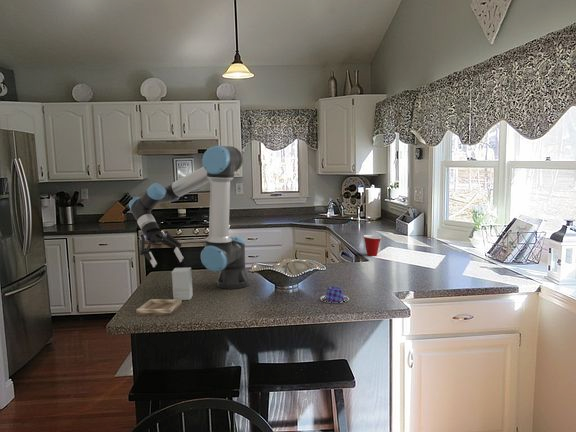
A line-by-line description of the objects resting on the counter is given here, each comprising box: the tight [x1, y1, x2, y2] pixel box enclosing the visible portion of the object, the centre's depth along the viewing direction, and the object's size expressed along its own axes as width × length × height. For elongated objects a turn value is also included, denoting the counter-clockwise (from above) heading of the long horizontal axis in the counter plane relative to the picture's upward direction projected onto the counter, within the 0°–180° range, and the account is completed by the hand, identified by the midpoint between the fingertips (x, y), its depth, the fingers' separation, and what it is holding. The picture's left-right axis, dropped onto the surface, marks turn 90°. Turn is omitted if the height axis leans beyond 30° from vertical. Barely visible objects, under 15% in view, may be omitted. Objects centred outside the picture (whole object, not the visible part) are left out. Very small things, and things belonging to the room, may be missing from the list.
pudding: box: [319, 286, 350, 304], centre depth 196 cm, size 12×12×5 cm
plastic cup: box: [363, 234, 382, 257], centre depth 283 cm, size 11×11×12 cm
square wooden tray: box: [135, 298, 184, 316], centre depth 187 cm, size 14×14×2 cm
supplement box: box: [171, 267, 194, 301], centre depth 202 cm, size 7×7×13 cm
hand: (168, 262), depth 207 cm, fingers open, 13 cm apart
